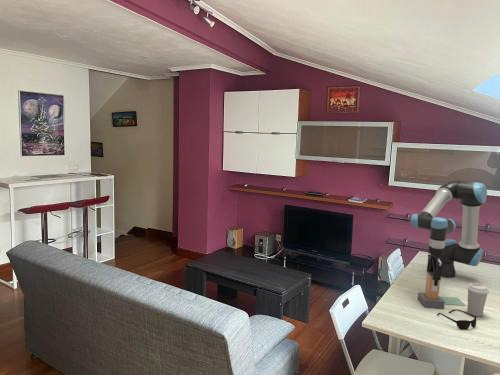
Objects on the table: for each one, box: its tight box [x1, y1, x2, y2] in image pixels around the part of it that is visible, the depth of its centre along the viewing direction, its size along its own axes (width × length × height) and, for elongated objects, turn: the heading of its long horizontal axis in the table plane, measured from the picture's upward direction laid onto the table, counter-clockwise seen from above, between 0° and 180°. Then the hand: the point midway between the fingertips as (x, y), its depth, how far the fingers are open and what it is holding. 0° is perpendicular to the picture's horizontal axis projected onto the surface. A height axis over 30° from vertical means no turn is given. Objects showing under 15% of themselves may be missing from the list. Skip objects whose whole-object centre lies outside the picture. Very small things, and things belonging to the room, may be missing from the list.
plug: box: [424, 271, 441, 300], centre depth 201 cm, size 5×5×15 cm
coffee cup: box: [466, 282, 490, 318], centre depth 191 cm, size 10×10×15 cm
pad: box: [439, 295, 467, 307], centre depth 206 cm, size 10×10×1 cm
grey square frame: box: [417, 292, 446, 310], centre depth 201 cm, size 10×10×4 cm
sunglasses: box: [436, 308, 478, 331], centre depth 183 cm, size 14×16×5 cm
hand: (432, 288), depth 201 cm, fingers closed on plug, 5 cm apart
